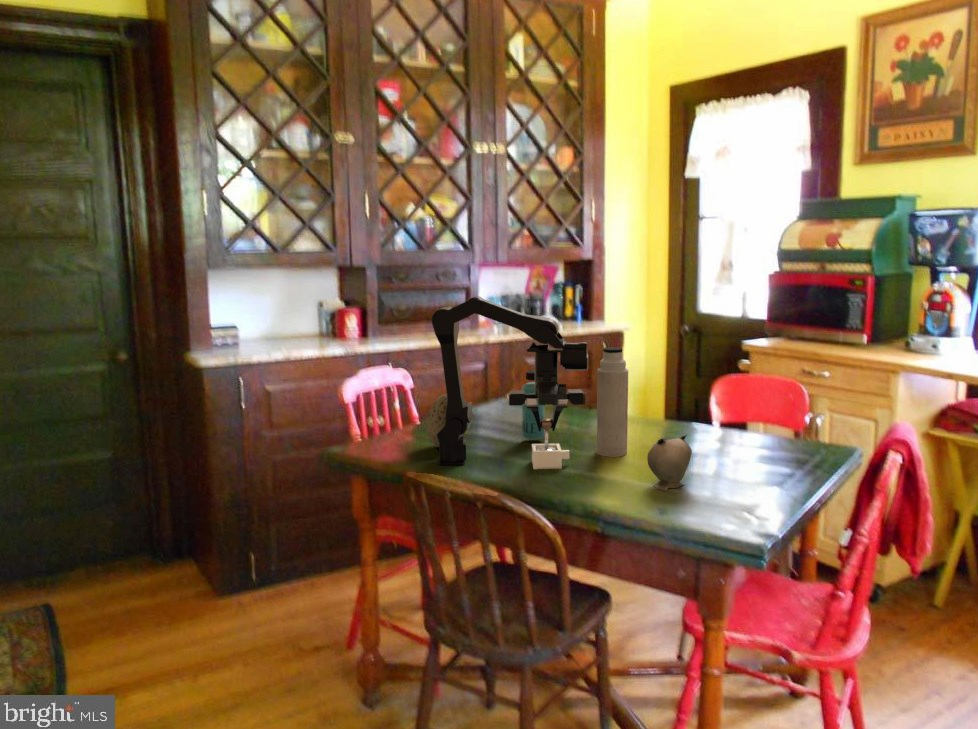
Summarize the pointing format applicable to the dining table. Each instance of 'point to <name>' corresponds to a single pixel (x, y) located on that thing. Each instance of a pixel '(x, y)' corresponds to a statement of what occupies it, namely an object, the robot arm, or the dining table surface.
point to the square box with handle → (548, 457)
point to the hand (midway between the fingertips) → (546, 430)
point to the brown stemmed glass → (546, 433)
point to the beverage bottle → (529, 420)
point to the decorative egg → (436, 418)
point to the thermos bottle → (612, 404)
